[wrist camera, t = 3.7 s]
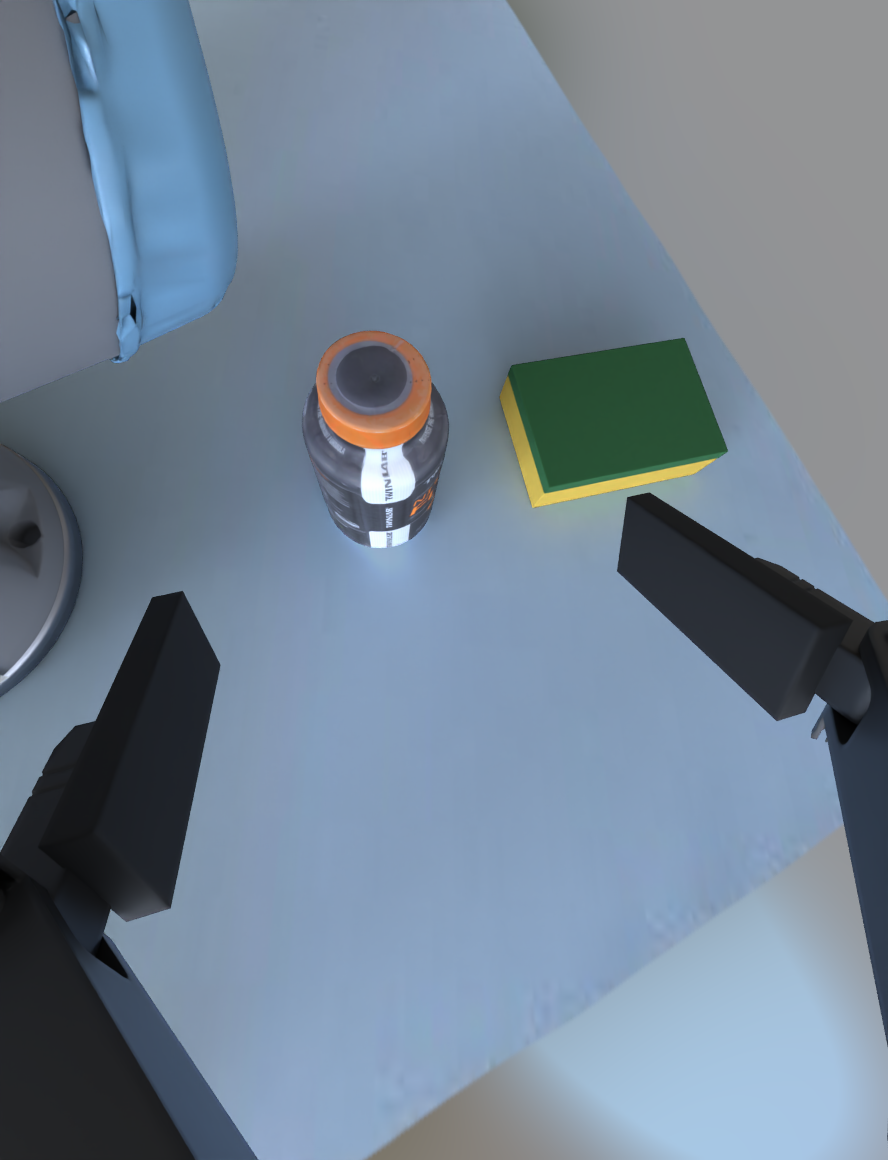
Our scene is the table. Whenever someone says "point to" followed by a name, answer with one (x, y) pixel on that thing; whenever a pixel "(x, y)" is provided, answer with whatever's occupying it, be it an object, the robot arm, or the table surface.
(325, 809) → the table surface
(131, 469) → the table surface
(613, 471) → the sponge
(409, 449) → the orange-lidded supplement jar
